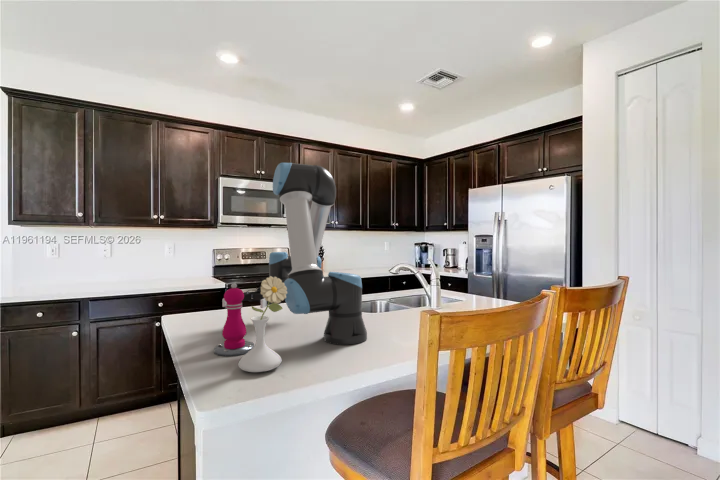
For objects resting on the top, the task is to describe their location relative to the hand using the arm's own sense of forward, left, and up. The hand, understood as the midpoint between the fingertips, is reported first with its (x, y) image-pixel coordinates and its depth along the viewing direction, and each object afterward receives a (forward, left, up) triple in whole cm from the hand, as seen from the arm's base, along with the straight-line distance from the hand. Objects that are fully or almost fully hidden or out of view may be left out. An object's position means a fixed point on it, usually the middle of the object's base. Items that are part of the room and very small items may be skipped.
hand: (242, 303), depth 118 cm
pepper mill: (0, +5, -13) cm, 14 cm away
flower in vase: (-16, +18, -14) cm, 28 cm away
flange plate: (0, +5, -14) cm, 15 cm away
